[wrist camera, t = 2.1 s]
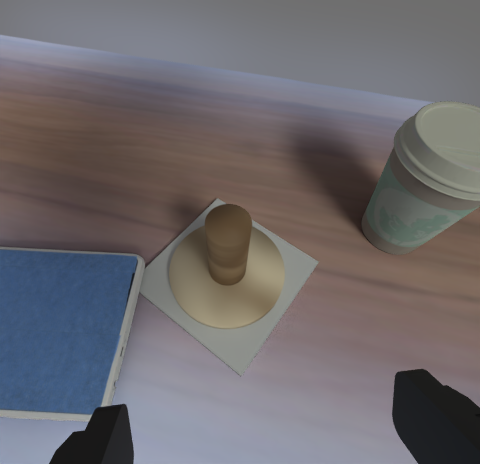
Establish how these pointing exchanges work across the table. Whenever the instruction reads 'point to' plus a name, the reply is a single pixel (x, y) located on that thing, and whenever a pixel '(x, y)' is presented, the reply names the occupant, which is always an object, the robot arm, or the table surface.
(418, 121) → the coffee cup
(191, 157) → the table surface
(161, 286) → the coaster
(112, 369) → the tablet computer
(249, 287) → the lid
